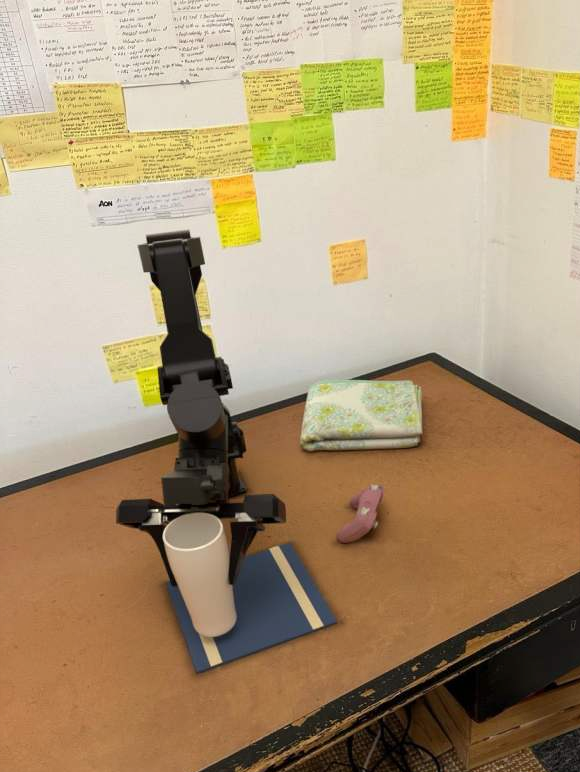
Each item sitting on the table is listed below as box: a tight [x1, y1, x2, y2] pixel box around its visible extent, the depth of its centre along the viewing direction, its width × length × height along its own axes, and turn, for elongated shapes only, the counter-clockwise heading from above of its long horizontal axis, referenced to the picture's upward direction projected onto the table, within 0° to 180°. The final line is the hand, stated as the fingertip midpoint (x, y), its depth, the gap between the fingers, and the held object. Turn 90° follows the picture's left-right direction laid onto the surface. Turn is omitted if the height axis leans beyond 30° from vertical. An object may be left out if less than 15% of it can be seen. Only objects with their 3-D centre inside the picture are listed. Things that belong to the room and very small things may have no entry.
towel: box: [299, 379, 423, 452], centre depth 132 cm, size 18×21×5 cm
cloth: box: [165, 542, 338, 675], centre depth 98 cm, size 18×18×1 cm
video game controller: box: [336, 483, 386, 544], centre depth 108 cm, size 10×5×7 cm, turn 168°
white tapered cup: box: [163, 512, 237, 637], centre depth 87 cm, size 7×7×15 cm
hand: (203, 585), depth 86 cm, fingers closed on white tapered cup, 6 cm apart
